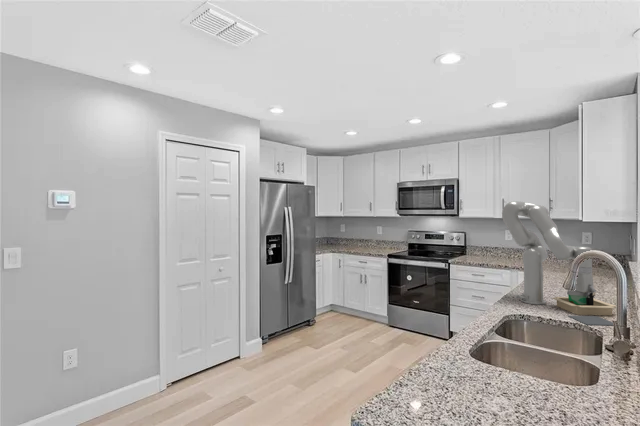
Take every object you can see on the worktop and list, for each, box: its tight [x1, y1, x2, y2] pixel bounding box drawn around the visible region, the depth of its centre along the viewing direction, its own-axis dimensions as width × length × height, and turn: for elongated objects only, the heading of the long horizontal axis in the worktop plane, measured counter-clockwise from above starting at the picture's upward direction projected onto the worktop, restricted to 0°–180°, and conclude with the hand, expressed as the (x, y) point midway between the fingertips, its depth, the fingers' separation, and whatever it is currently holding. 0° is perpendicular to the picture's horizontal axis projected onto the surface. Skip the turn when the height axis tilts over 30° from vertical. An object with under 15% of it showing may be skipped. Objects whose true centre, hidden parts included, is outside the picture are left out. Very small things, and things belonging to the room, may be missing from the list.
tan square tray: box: [552, 296, 617, 316], centre depth 186 cm, size 22×22×4 cm
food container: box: [566, 290, 590, 306], centre depth 186 cm, size 12×6×10 cm, turn 98°
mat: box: [567, 315, 614, 327], centre depth 168 cm, size 14×14×1 cm
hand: (583, 302), depth 186 cm, fingers open, 9 cm apart
